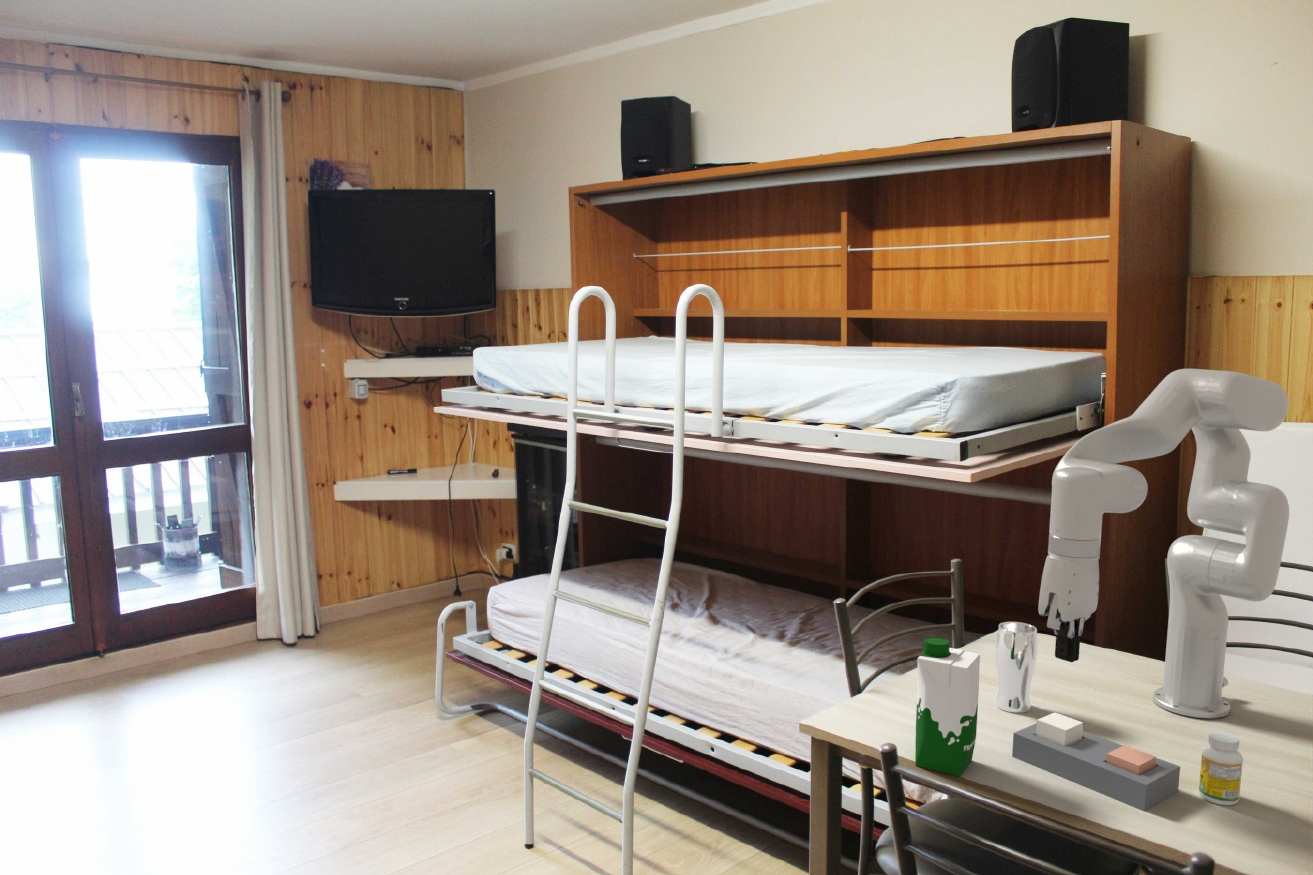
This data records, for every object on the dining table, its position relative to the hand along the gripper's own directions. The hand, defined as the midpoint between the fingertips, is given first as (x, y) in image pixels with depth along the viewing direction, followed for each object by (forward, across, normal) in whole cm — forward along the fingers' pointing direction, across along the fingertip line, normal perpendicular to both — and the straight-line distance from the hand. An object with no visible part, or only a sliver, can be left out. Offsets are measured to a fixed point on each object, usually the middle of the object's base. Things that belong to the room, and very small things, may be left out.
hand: (1066, 658), depth 164 cm
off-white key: (+14, 0, 0) cm, 14 cm away
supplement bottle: (+17, -8, +21) cm, 28 cm away
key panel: (+17, 0, +6) cm, 18 cm away
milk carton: (+17, +16, -11) cm, 26 cm away
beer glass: (+17, -13, -17) cm, 28 cm away
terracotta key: (+15, 0, +12) cm, 19 cm away
